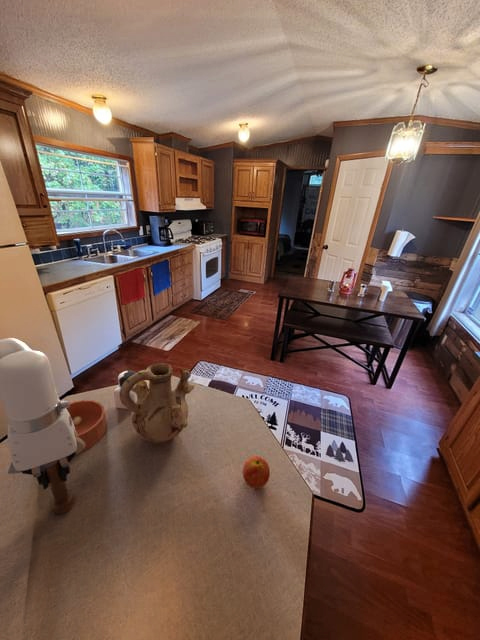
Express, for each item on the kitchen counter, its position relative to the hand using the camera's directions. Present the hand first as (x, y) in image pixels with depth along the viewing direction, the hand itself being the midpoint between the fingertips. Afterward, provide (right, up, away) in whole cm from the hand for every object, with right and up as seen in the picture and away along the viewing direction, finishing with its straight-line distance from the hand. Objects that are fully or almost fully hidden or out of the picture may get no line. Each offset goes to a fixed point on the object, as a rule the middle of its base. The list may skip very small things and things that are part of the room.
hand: (56, 478), depth 55 cm
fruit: (+44, -9, +12) cm, 46 cm away
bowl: (-9, 0, +22) cm, 24 cm away
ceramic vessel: (+17, -1, +24) cm, 29 cm away
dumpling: (-11, +3, +24) cm, 26 cm away
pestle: (-1, -8, +3) cm, 9 cm away
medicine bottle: (+1, +5, +35) cm, 36 cm away
